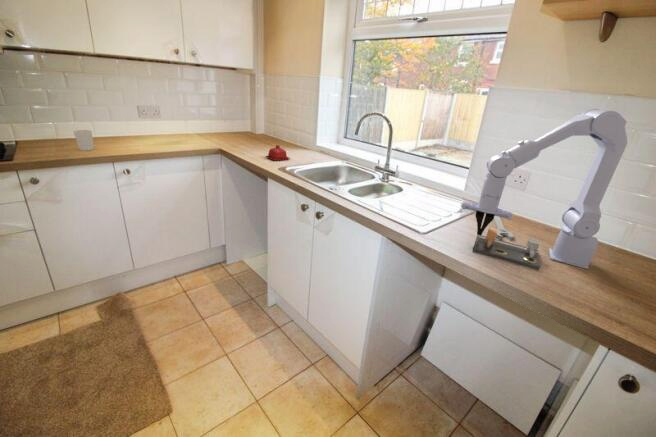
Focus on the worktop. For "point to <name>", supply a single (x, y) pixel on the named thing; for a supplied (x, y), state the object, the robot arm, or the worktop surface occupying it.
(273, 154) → the butter dish
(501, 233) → the adjustable wrench
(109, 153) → the worktop surface
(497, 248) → the hole plate
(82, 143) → the white cup
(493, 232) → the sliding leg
